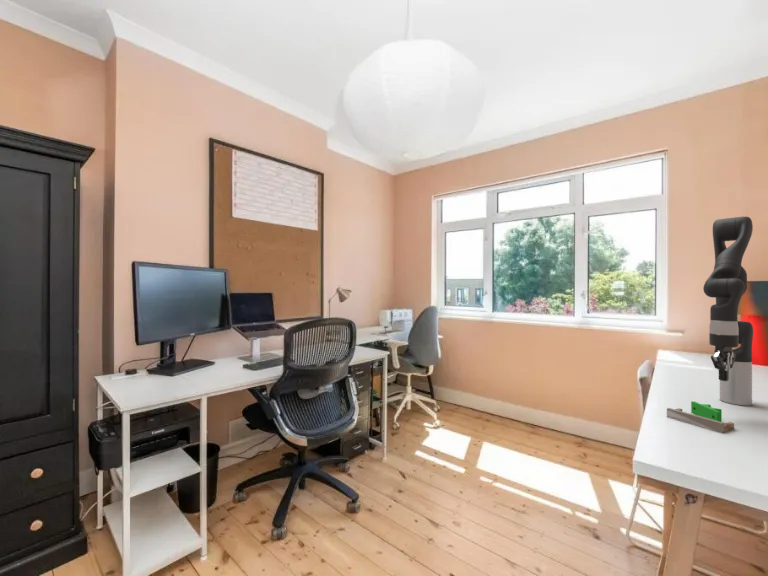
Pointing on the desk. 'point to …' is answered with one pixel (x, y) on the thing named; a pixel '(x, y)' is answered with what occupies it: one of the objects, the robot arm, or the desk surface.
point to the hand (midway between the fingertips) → (723, 380)
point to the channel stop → (699, 420)
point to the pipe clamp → (706, 411)
